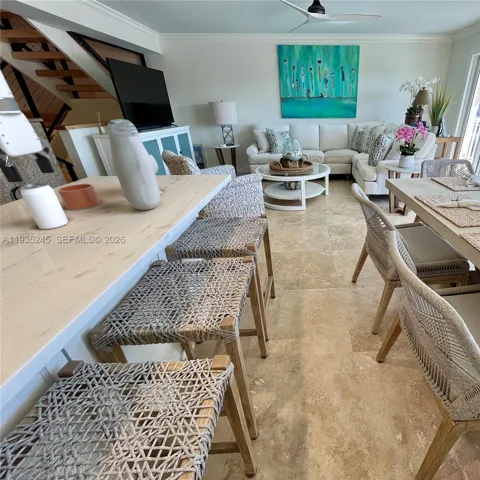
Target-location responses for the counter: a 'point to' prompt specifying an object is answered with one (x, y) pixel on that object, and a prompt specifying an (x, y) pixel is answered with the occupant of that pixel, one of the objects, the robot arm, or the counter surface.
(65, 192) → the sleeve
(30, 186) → the can
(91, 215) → the counter surface
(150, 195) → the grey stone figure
